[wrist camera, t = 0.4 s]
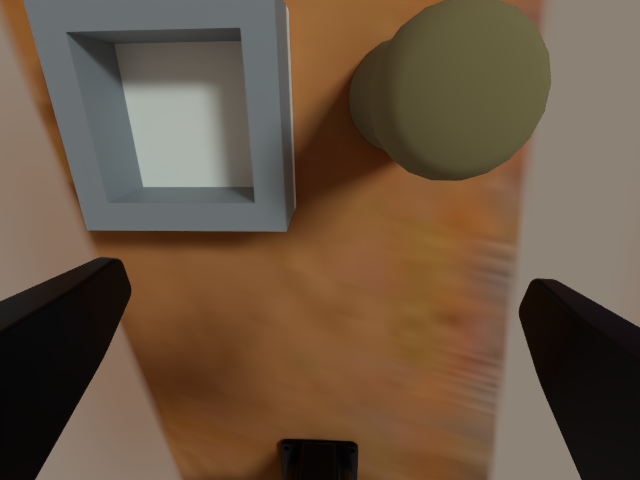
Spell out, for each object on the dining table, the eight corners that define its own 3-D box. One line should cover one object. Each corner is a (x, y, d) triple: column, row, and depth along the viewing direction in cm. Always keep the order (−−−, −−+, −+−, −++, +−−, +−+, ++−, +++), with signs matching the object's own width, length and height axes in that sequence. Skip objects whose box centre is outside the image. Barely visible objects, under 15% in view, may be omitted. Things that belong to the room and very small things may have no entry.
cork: (354, 159, 21) (370, 218, 11) (342, 46, 19) (345, -17, 9) (459, 145, 20) (579, 191, 10) (458, 25, 18) (612, -68, 8)
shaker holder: (296, 206, 22) (286, 231, 18) (133, 206, 23) (86, 230, 19) (288, 10, 18) (273, -17, 14) (91, 15, 19) (20, -9, 15)
